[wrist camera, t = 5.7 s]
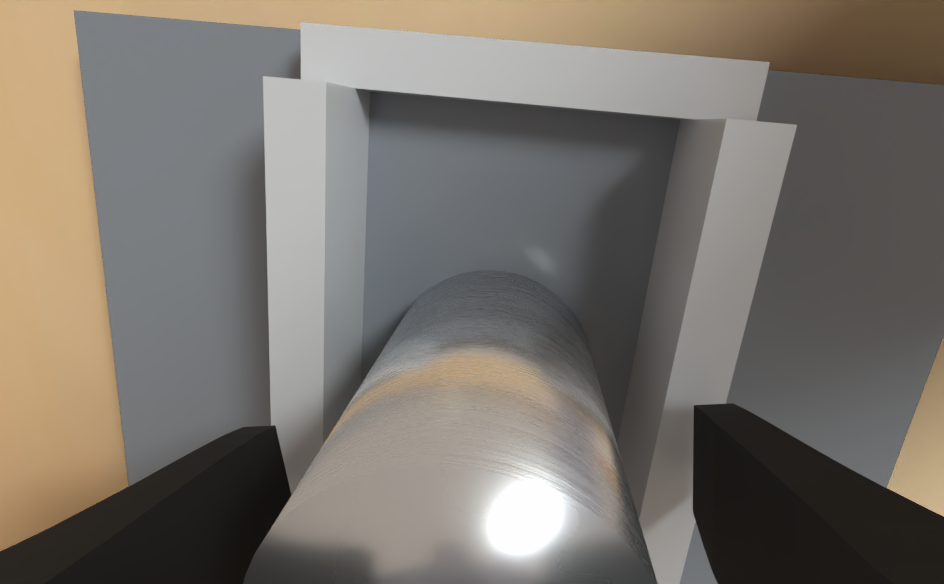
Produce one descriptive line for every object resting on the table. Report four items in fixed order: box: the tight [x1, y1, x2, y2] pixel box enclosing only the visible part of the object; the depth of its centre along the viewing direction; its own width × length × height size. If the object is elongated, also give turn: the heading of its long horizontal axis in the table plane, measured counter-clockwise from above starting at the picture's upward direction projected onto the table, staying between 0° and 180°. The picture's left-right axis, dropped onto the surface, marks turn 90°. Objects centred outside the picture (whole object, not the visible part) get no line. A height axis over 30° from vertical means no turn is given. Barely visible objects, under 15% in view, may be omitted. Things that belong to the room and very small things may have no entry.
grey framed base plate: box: [74, 10, 944, 584], centre depth 12 cm, size 18×14×4 cm
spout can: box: [243, 270, 658, 584], centre depth 8 cm, size 4×4×8 cm
